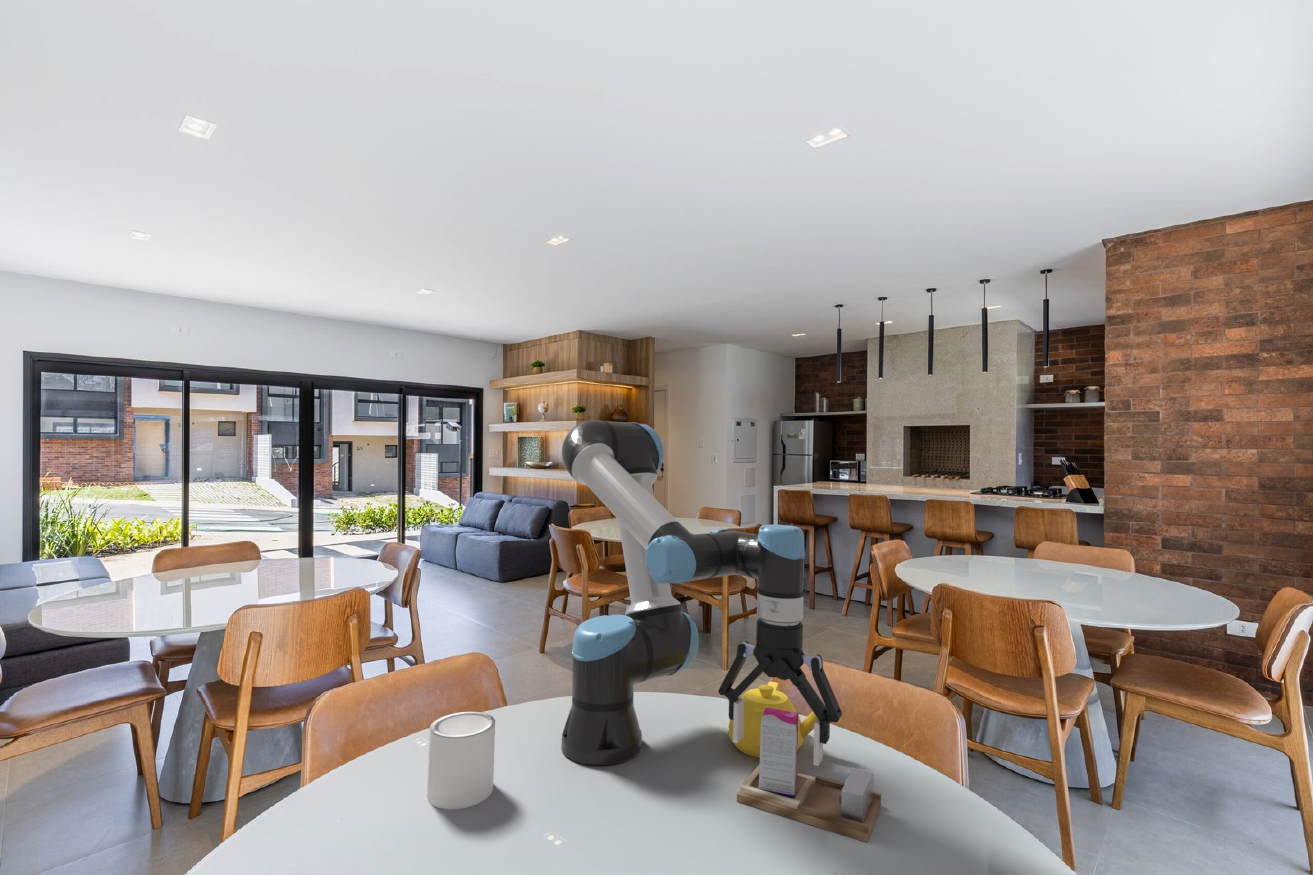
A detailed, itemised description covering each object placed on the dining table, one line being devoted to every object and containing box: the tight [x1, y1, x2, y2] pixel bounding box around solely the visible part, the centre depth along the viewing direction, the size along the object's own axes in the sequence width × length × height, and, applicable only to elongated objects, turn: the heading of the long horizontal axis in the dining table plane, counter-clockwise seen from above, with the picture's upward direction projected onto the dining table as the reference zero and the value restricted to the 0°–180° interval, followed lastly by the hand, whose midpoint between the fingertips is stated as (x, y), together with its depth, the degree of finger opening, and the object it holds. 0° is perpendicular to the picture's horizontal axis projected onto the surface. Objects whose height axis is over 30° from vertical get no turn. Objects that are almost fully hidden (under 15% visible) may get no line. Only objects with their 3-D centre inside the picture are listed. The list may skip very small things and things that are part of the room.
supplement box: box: [759, 708, 799, 798], centre depth 99 cm, size 6×6×12 cm
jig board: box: [736, 763, 882, 843], centre depth 96 cm, size 20×11×2 cm, turn 60°
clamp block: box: [839, 767, 874, 823], centre depth 93 cm, size 4×8×4 cm, turn 150°
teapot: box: [727, 680, 818, 759], centre depth 116 cm, size 20×18×11 cm
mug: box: [426, 711, 496, 810], centre depth 100 cm, size 14×10×11 cm
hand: (776, 750), depth 99 cm, fingers open, 13 cm apart
